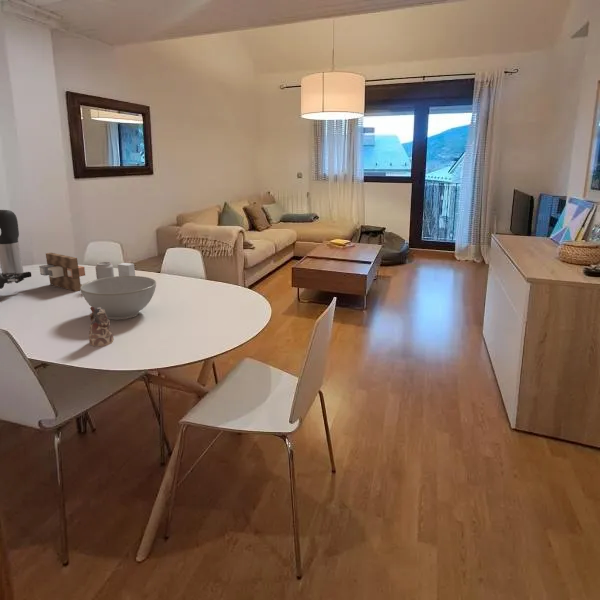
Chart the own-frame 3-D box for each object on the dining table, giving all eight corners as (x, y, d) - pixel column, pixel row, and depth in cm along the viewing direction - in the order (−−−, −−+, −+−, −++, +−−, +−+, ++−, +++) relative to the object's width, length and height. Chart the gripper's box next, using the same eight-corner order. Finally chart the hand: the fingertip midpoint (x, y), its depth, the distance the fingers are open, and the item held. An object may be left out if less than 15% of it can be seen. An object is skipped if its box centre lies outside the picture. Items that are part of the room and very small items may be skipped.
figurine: (100, 347, 143) (96, 311, 140) (84, 344, 146) (80, 308, 142) (118, 340, 149) (114, 305, 146) (102, 336, 152) (98, 302, 149)
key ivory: (48, 276, 205) (46, 268, 204) (61, 274, 210) (60, 265, 209) (53, 278, 203) (51, 269, 202) (66, 275, 208) (65, 266, 207)
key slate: (39, 274, 209) (38, 266, 208) (53, 272, 214) (52, 263, 213) (44, 275, 207) (43, 267, 206) (58, 273, 212) (56, 264, 211)
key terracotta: (67, 276, 205) (65, 268, 204) (80, 274, 211) (79, 265, 209) (72, 278, 203) (71, 269, 202) (85, 275, 208) (84, 266, 207)
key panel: (50, 284, 215) (45, 253, 211) (63, 281, 220) (59, 251, 216) (76, 291, 204) (71, 258, 200) (89, 288, 210) (85, 256, 205)
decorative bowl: (170, 306, 184) (168, 278, 181) (134, 329, 159) (131, 296, 156) (111, 302, 190) (108, 273, 186) (67, 322, 165) (63, 290, 161)
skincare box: (136, 288, 210) (134, 263, 206) (130, 291, 206) (128, 265, 202) (126, 287, 212) (123, 262, 208) (119, 289, 208) (117, 264, 204)
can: (118, 286, 213) (115, 261, 210) (110, 290, 206) (107, 264, 203) (103, 285, 214) (100, 260, 211) (94, 290, 207) (91, 264, 204)
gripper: (-18, 288, 194) (24, 280, 207) (-3, 293, 187) (39, 284, 201) (-22, 271, 191) (21, 263, 205) (-6, 275, 184) (37, 267, 198)
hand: (30, 274), depth 203 cm, fingers closed
